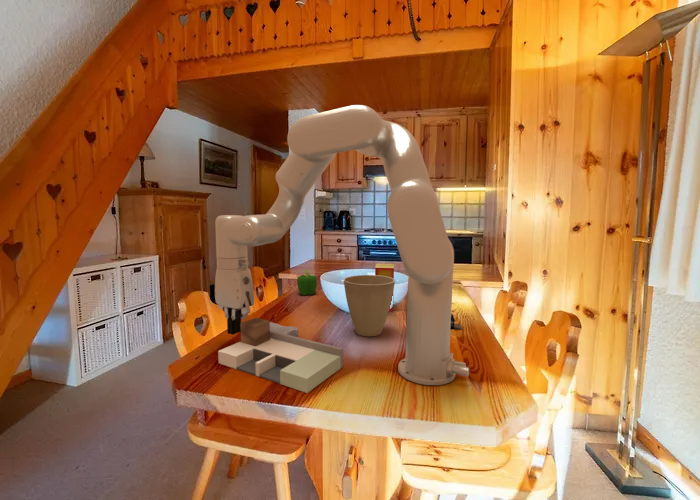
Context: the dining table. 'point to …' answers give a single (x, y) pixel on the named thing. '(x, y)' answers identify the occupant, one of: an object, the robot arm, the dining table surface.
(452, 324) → the build plate
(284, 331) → the stone block
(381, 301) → the plant pot
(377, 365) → the dining table surface
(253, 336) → the walnut cube
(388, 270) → the baking soda box
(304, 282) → the bell pepper
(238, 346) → the box
